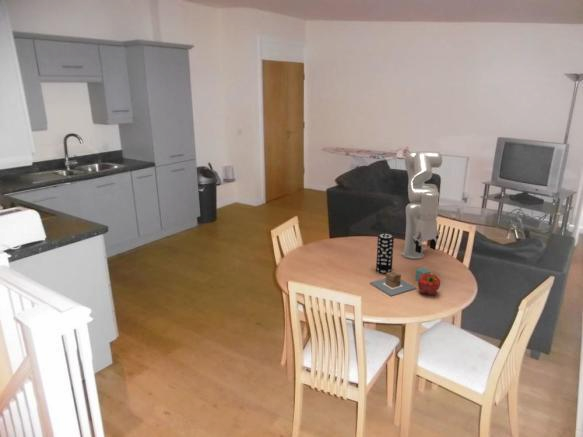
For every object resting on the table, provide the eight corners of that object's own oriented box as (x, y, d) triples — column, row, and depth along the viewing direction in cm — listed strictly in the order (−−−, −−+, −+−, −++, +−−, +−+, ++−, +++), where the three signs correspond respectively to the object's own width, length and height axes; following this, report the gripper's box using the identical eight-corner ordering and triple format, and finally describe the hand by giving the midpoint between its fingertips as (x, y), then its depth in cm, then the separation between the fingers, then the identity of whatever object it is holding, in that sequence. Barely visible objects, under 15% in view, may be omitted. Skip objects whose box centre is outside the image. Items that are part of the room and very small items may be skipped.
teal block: (422, 278, 219) (423, 267, 217) (429, 281, 215) (430, 271, 213) (415, 280, 217) (416, 269, 215) (422, 284, 212) (423, 273, 211)
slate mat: (394, 276, 221) (394, 275, 221) (416, 288, 207) (416, 287, 207) (369, 283, 214) (369, 282, 213) (391, 296, 200) (391, 295, 200)
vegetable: (444, 297, 199) (446, 277, 196) (424, 299, 197) (426, 280, 194) (432, 287, 209) (434, 268, 206) (413, 289, 207) (414, 270, 204)
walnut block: (393, 281, 213) (394, 270, 212) (400, 285, 209) (401, 274, 208) (385, 284, 211) (386, 272, 209) (392, 287, 207) (393, 276, 205)
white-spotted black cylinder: (382, 275, 222) (384, 239, 216) (372, 269, 229) (374, 235, 223) (395, 272, 226) (397, 237, 220) (385, 266, 233) (387, 232, 227)
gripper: (435, 213, 213) (432, 245, 217) (409, 217, 205) (406, 251, 209) (446, 216, 206) (443, 249, 211) (420, 221, 198) (417, 256, 203)
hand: (425, 250), depth 210 cm, fingers open, 9 cm apart
